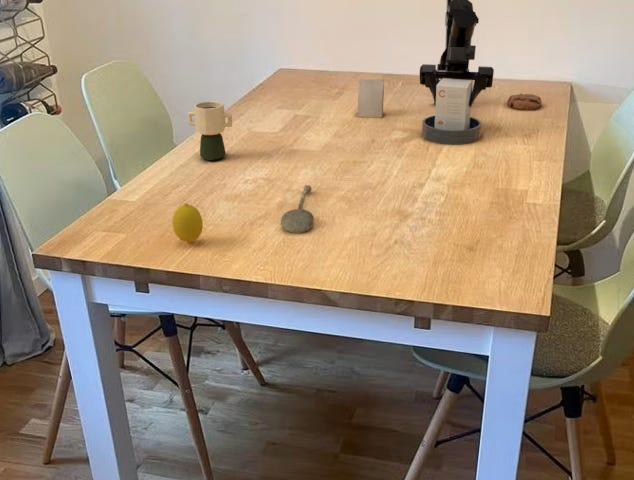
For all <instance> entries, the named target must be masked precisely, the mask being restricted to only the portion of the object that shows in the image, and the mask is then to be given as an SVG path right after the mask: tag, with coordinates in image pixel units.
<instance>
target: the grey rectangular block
mask: <svg viewBox="0 0 634 480" xmlns="http://www.w3.org/2000/svg"><path fill="white" fill-rule="evenodd" d="M384 82H385V80H384V79H380V78H379V79H378V78H359V81H358V93H357V94H358V95H357V96H358V97H357V118H359V117H361V118H383V116H384V97H385V83H384Z"/></svg>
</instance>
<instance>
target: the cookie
mask: <svg viewBox="0 0 634 480" xmlns="http://www.w3.org/2000/svg"><path fill="white" fill-rule="evenodd" d="M506 104H507V105H508V107H509V108H513V109H516V110H521V111H522V110H523V111H530V110H531V111H533V110H537V109H539V108H541V107H542V97H540V96H539V95H536V94H532V93H528V94H527V93H525V94H523V93H519V94H511V95H510V96H509V97H508V99H507V101H506Z"/></svg>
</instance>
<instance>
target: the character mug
mask: <svg viewBox="0 0 634 480" xmlns="http://www.w3.org/2000/svg"><path fill="white" fill-rule="evenodd" d="M193 117H194V121H193ZM226 118H227V122H226ZM187 120H188V122H187V123H188V125H189V126H195V130H196V132H197V133H198V134H199V135H201V136H200V141H199V143H200V144H199V157H200V158H201V159H204V160H207V161H215V160H218V159H221V158H224V157H225V156H226V148H225V142H224V138H223V135H222V133H224V131H225V130H226V128H232V127H233V115H232V113H230V112H225V105H224V103H223V102H220V101H216V100H207V101H201V102H197V103H195V104H194V105H193V111H188V112H187Z"/></svg>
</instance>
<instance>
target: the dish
mask: <svg viewBox="0 0 634 480" xmlns="http://www.w3.org/2000/svg"><path fill="white" fill-rule="evenodd" d="M482 126H483V122H482V121H481V120H479V119H478V118H475V117H473V116H470V126H469V129H468V130H442V129H437V128H435V115H430V116H427V117H424V118H423V120H422V122H421V136H422V138H423V139H425V140H427V141H429V142H432V143H436V144H442V145H467V144H471V143H475V142H477V141H479V140H480V139H481V135H482Z"/></svg>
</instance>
